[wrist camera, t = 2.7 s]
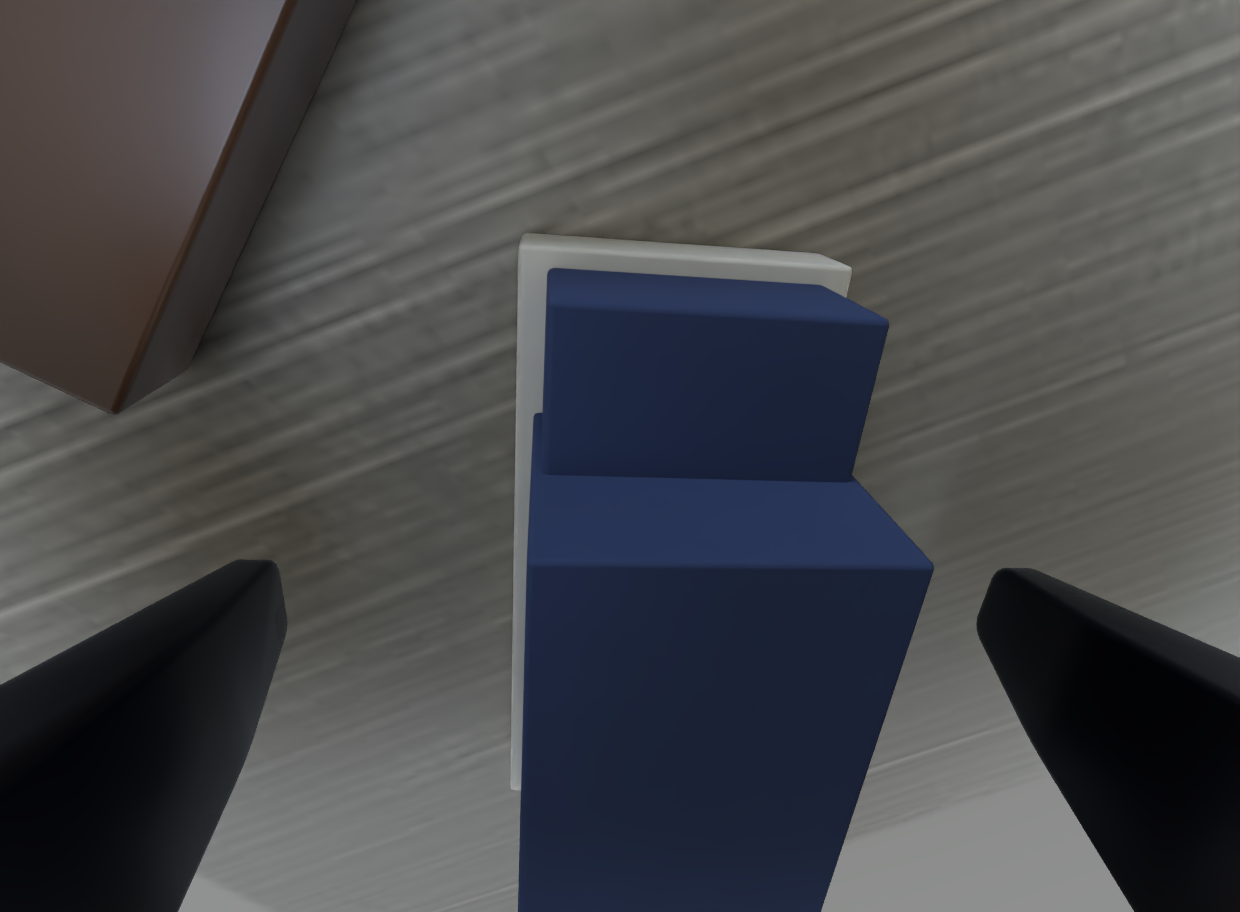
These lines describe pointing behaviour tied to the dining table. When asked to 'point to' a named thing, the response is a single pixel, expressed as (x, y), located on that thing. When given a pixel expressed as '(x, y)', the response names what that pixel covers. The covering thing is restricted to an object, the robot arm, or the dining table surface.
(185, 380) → the dining table surface
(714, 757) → the stepped navy block
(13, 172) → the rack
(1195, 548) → the dining table surface
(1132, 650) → the robot arm
